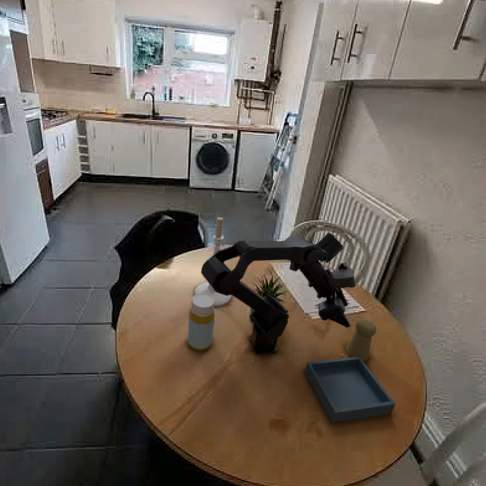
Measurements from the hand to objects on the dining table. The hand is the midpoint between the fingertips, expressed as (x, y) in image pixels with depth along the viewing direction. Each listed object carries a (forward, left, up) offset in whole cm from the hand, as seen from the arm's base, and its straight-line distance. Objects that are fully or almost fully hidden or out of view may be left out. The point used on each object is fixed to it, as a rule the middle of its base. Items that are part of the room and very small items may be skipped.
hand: (347, 315), depth 87 cm
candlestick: (-33, +27, -12) cm, 44 cm away
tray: (-7, -14, -11) cm, 19 cm away
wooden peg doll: (+4, -3, -12) cm, 13 cm away
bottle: (-41, +6, -12) cm, 43 cm away
